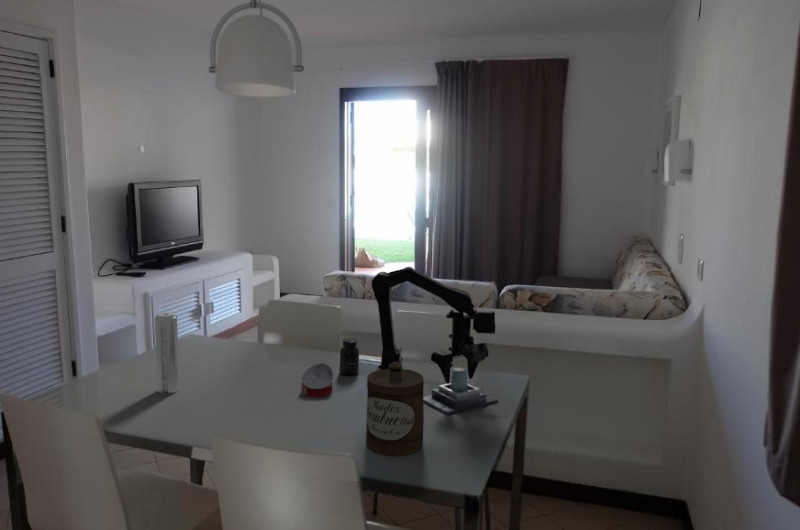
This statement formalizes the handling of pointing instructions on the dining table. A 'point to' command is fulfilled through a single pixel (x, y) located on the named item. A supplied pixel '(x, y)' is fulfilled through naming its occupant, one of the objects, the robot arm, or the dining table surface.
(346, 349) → the supplement bottle
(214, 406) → the dining table surface
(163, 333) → the silver metal cylinder
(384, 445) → the wooden container
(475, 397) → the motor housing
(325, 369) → the canned food
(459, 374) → the cylinder
